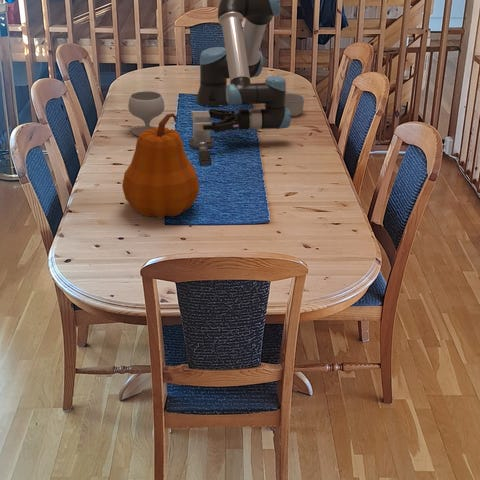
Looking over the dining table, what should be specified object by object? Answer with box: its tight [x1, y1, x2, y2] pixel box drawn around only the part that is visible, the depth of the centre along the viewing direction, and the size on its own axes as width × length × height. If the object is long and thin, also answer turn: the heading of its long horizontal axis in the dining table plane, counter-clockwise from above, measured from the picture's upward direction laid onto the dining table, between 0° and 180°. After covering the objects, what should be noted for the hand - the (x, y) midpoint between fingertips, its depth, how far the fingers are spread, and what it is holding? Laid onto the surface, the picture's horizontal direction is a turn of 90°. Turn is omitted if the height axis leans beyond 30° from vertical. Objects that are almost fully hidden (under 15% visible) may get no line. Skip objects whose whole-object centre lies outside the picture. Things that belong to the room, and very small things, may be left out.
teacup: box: [285, 92, 305, 118], centre depth 319 cm, size 14×11×8 cm
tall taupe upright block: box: [192, 112, 211, 143], centre depth 282 cm, size 6×6×10 cm
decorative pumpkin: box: [121, 113, 201, 219], centre depth 229 cm, size 24×24×30 cm
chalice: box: [127, 91, 165, 137], centre depth 294 cm, size 14×14×15 cm
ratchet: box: [189, 136, 215, 166], centre depth 278 cm, size 24×9×6 cm, turn 7°
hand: (192, 120), depth 281 cm, fingers open, 13 cm apart
